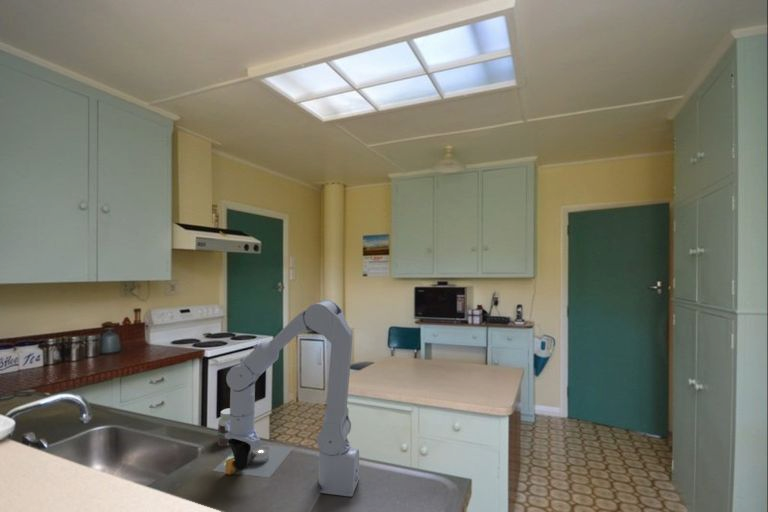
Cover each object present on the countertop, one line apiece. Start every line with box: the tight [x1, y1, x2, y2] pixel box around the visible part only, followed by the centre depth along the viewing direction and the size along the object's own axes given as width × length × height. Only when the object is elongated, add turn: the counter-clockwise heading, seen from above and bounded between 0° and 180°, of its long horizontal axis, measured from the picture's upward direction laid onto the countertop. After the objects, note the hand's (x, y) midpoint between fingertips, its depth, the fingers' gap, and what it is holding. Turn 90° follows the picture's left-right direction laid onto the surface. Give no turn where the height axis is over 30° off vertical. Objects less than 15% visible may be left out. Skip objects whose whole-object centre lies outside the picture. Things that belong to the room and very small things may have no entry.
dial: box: [224, 444, 269, 476], centre depth 100 cm, size 6×12×3 cm, turn 145°
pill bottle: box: [217, 407, 233, 447], centre depth 112 cm, size 6×6×10 cm
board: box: [212, 444, 294, 479], centre depth 103 cm, size 15×15×1 cm
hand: (241, 467), depth 96 cm, fingers closed
